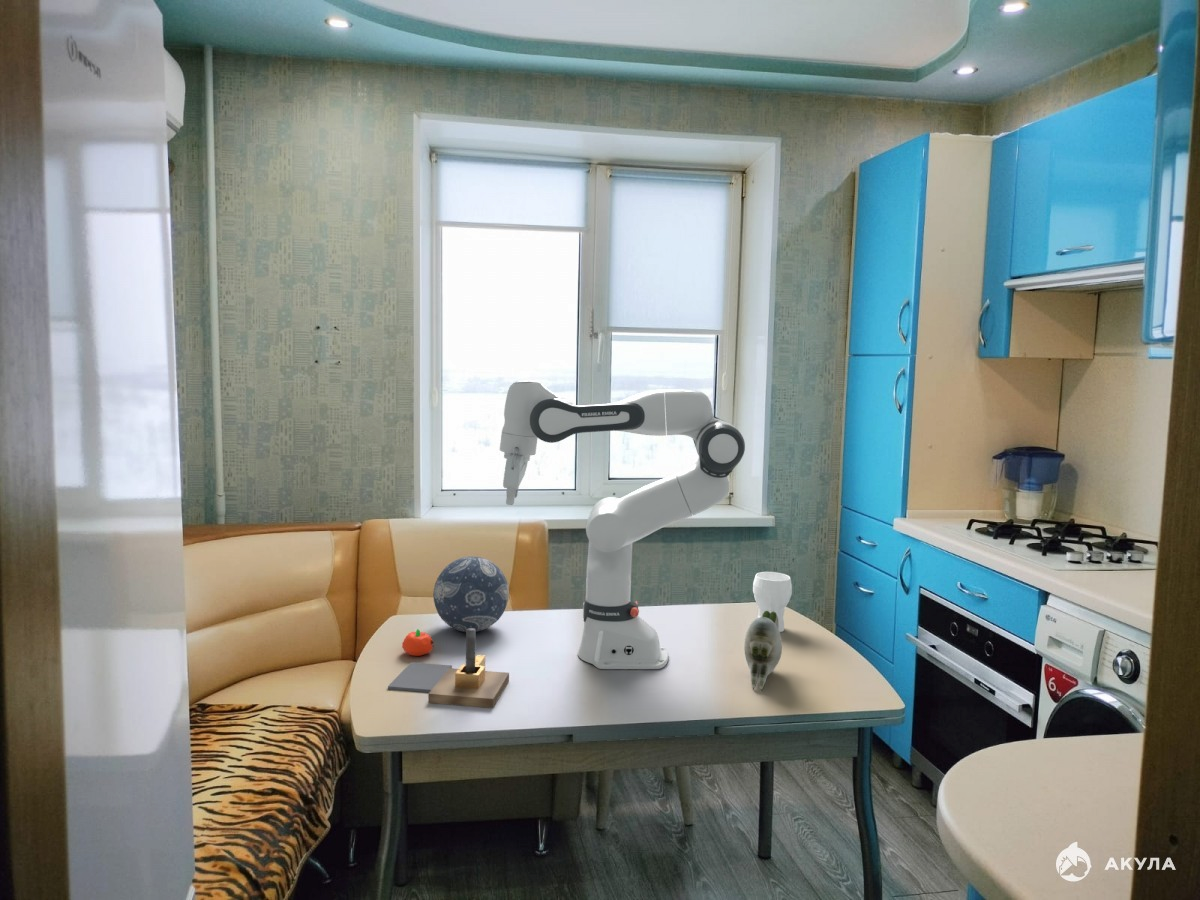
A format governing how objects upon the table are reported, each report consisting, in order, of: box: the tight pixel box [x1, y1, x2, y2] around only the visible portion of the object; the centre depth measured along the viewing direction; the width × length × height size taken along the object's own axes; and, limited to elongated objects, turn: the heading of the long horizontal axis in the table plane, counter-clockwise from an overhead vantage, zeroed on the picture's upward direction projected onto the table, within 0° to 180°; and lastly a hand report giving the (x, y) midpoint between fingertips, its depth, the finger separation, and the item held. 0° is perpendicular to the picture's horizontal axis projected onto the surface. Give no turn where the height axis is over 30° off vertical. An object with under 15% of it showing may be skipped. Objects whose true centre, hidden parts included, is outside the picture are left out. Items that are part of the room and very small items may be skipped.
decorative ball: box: [433, 556, 510, 633], centre depth 206 cm, size 20×20×20 cm
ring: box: [455, 654, 486, 689], centre depth 171 cm, size 5×11×3 cm, turn 173°
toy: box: [743, 611, 783, 692], centre depth 182 cm, size 8×15×20 cm
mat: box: [387, 661, 453, 693], centre depth 175 cm, size 10×14×1 cm
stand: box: [428, 628, 510, 709], centre depth 168 cm, size 14×14×14 cm
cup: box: [752, 571, 793, 633], centre depth 215 cm, size 11×11×15 cm
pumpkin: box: [401, 628, 434, 657], centre depth 189 cm, size 7×8×6 cm
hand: (511, 500), depth 190 cm, fingers open, 8 cm apart
